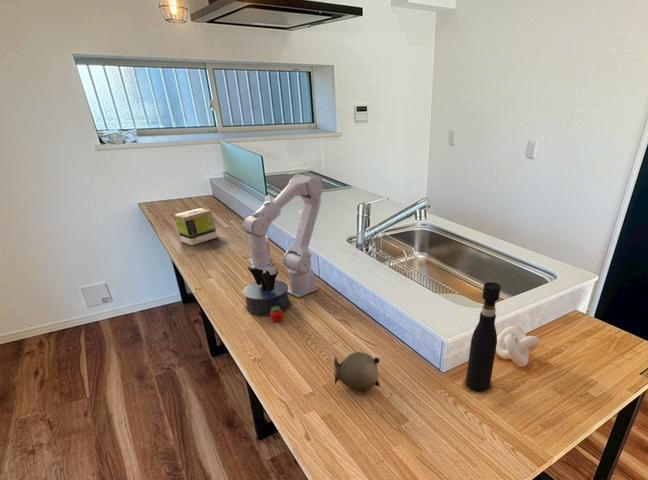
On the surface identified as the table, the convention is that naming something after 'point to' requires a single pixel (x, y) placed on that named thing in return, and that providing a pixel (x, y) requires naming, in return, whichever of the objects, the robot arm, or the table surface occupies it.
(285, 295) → the pot
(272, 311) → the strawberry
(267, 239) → the sprinkles bottle
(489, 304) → the black bottle
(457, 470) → the table surface
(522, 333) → the white decorative knot
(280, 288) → the lid
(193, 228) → the tea box
